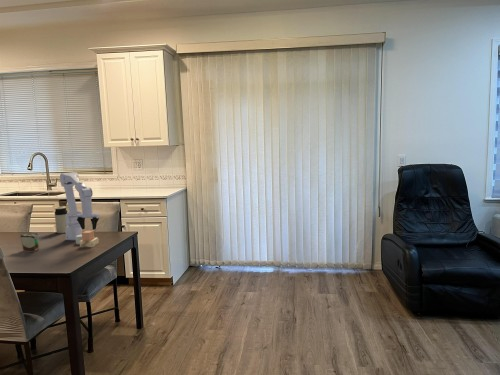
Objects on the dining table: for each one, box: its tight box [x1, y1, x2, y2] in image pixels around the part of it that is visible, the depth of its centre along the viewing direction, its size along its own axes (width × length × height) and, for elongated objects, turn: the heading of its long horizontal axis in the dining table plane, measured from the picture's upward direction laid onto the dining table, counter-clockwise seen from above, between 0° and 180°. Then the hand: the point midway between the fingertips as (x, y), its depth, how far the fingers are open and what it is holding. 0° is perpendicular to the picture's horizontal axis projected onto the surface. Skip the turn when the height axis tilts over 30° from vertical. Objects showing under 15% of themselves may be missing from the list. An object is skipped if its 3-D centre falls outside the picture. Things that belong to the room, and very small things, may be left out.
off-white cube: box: [75, 235, 82, 245], centre depth 231 cm, size 5×5×5 cm
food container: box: [19, 232, 40, 253], centre depth 219 cm, size 12×6×10 cm, turn 71°
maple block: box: [79, 237, 100, 248], centre depth 226 cm, size 8×8×4 cm
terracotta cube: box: [82, 230, 95, 241], centre depth 226 cm, size 5×5×5 cm
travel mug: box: [54, 205, 68, 234], centre depth 260 cm, size 8×8×18 cm
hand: (88, 229), depth 226 cm, fingers open, 7 cm apart
